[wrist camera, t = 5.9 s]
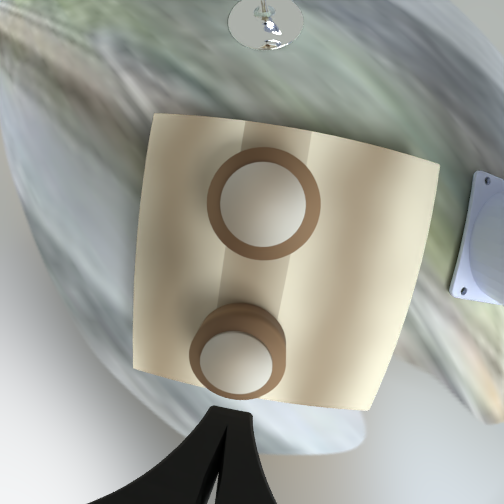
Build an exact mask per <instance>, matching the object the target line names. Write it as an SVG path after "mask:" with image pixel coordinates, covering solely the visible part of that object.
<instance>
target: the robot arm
mask: <svg viewBox="0 0 504 504" xmlns="http://www.w3.org/2000/svg"><path fill="white" fill-rule="evenodd" d="M485 178H487V184H485ZM463 287H464V291H463V292H462V293H461V289H462V288H463ZM449 292H450V294H451V295H452V296H453V297H455V298H461V299H467V300H474V301H480V302H486V303H492V304H498V305H503V306H504V180H503V179H501V178H499V177H496V176H494V175H492V174H489V173H487V172H484V171H476V172H475V173H474V175H473V182H472V189H471V195H470V202H469V207H468V213H467V218H466V223H465V228H464V233H463V238H462V242H461V247H460V251H459V255H458V259H457V263H456V267H455V270H454V274H453V278H452V281H451V285H450V289H449ZM218 473H219V475H218ZM217 475H218V483H217V491H216V499H215V504H277V503H276V501H275V499H274V497H273V494H272V492H271V490H270V488H269V485H268V483H267V480H266V477H265V474H264V472H263V469H262V465H261V462H260V458H259V455H258V451H257V447H256V443H255V437H254V431H253V416H252V414H251V413H249V412H243V411H238V410H233V409H228V408H223V407H219V406H214V405H213V406H211V407H210V408H209V409H208V411H207V413H206V414H205V416H204V417H203V419H202V420H201V421H200V422H199V424H198V425H197V426H196V427H195V429H194V430H193V431H192V432H191V433H190V434H189V435H188V436H187V437H186V438H185V440H184V441H183V442H182V443H181V444H180V445H179V446H178V447H177V448H176V449H174V450H173V451H172V452H171V453H170V454H169V455H168V456H167V457H166V458H165V459H163V460H162V461H161V462H160V463H159V464H157V465H156V466H155V467H153V468H152V469H151V470H149V471H148V472H146V473H145V474H144V475H142V476H141V477H139V478H137V479H136V480H134V481H133V482H131V483H129V484H128V485H126V486H124V487H123V488H121V489H119V490H117V491H115V492H113V493H111V494H109V495H106V496H104V497H102V498H100V499H98V500H95V501H93V502H90V503H88V504H207V502H208V499H209V497H210V494H211V492H212V489H213V486H214V483H215V481H216V478H217Z"/></svg>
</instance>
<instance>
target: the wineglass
mask: <svg viewBox="0 0 504 504" xmlns="http://www.w3.org/2000/svg"><path fill="white" fill-rule="evenodd" d="M303 25H304V18H303V15H302V12H301V10H300V9H299V7H298V6H297V5H296V4H295V3H294V2H293V1H291V0H241V1H240V2H238V3H237V4H236V5H235V6H234V8H233V9H232V11H231V12H230V15H229V18H228V27H229V31H230V33H231V35H232V36H233V37H234V39H235V40H236V41H237V42H239V43H240V44H242V45H243V46H245V47H247V48H250V49H255V50H260V51H271V50H276V49H280V48H283V47H285V46H288V45H289V44H291V43H292V42H294V41H295V40H296V39H297V38H298V37H299V35H300V33H301V32H302V30H303Z"/></svg>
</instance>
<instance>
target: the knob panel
mask: <svg viewBox="0 0 504 504" xmlns="http://www.w3.org/2000/svg"><path fill="white" fill-rule="evenodd" d="M256 147H271V148H276V149H280V150H283V151H286V152H288V153H290V154H292V155H294V156H295V157H296V158H298V159H299V160H300V161H302V162H303V163H304V164H305V165H306V166H307V168H308V169H309V170H310V171H311V173H312V175H313V176H314V178H315V180H316V183H317V185H318V188H319V192H320V198H321V209H320V216H319V220H318V223H317V225H316V228H315V230H314V232H313V233H312V235H311V236H310V238H309V239H308V240H307V242H306V243H305V244H304V245H303V246H302V247H300V248H299V249H298V250H296V251H295V252H293V253H291V254H290V255H287V256H285V257H282V258H279V259H275V260H253V259H249V258H246V257H243V256H241V255H239V254H237V253H235V252H233V251H232V250H230V249H229V248H228V247H227V246H225V245H224V244H223V243H222V242H221V240H220V239H219V238H218V237H217V235H216V234H215V232H214V230H213V228H212V226H211V224H210V221H209V218H208V212H207V194H208V189H209V186H210V183H211V181H212V179H213V177H214V175H215V173H216V172H217V170H218V169H219V168H220V167H221V165H222V164H223V163H224V162H225V161H227V160H228V159H229V158H230V157H232V156H234V155H235V154H237V153H239V152H241V151H244V150H247V149H250V148H256ZM439 169H440V164H437V163H434V162H431V161H428V160H425V159H421V158H418V157H415V156H412V155H408V154H405V153H401V152H398V151H394V150H390V149H387V148H383V147H379V146H375V145H371V144H367V143H363V142H359V141H355V140H351V139H346V138H342V137H337V136H333V135H328V134H323V133H318V132H313V131H308V130H302V129H297V128H291V127H285V126H279V125H272V124H266V123H259V122H251V121H244V120H236V119H227V118H217V117H207V116H195V115H182V114H165V113H154V115H153V121H152V126H151V132H150V138H149V144H148V150H147V156H146V163H145V170H144V177H143V185H142V193H141V201H140V210H139V220H138V231H137V243H136V257H135V274H134V297H133V368H134V369H137V370H141V371H144V372H147V373H151V374H154V375H158V376H161V377H165V378H169V379H172V380H176V381H180V382H184V383H188V384H192V385H196V386H200V387H205V386H204V385H203V384H202V383H201V382H200V381H199V380H198V379H197V378H196V376H195V374H194V373H193V371H192V368H191V365H190V361H189V349H190V345H191V342H192V340H193V338H194V336H195V335H196V333H197V331H198V330H199V328H200V326H201V324H202V323H203V321H204V320H205V318H206V317H207V316H208V315H209V314H210V313H211V312H212V311H214V310H215V309H217V308H219V307H221V306H224V305H227V304H232V303H246V304H251V305H255V306H258V307H260V308H262V309H264V310H266V311H267V312H269V313H270V314H271V315H272V316H274V317H275V318H276V320H277V321H278V322H279V323H280V325H281V327H282V329H283V331H284V334H285V338H286V368H285V373H284V375H283V377H282V379H281V381H280V382H279V384H278V385H277V386H276V387H275V388H274V389H273V390H272V391H270V392H269V393H267V394H265V395H263V396H261V397H258V398H260V399H266V400H272V401H278V402H285V403H292V404H300V405H308V406H317V407H326V408H337V409H350V410H365V411H369V409H370V407H371V405H372V402H373V400H374V398H375V396H376V393H377V391H378V389H379V387H380V384H381V382H382V379H383V377H384V375H385V372H386V370H387V367H388V365H389V362H390V359H391V357H392V354H393V351H394V349H395V346H396V343H397V341H398V338H399V335H400V332H401V329H402V326H403V323H404V320H405V317H406V314H407V311H408V308H409V305H410V301H411V298H412V295H413V291H414V288H415V284H416V281H417V277H418V273H419V270H420V266H421V262H422V258H423V254H424V250H425V245H426V241H427V237H428V232H429V227H430V222H431V217H432V212H433V207H434V201H435V195H436V189H437V183H438V176H439ZM205 388H206V387H205Z"/></svg>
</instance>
